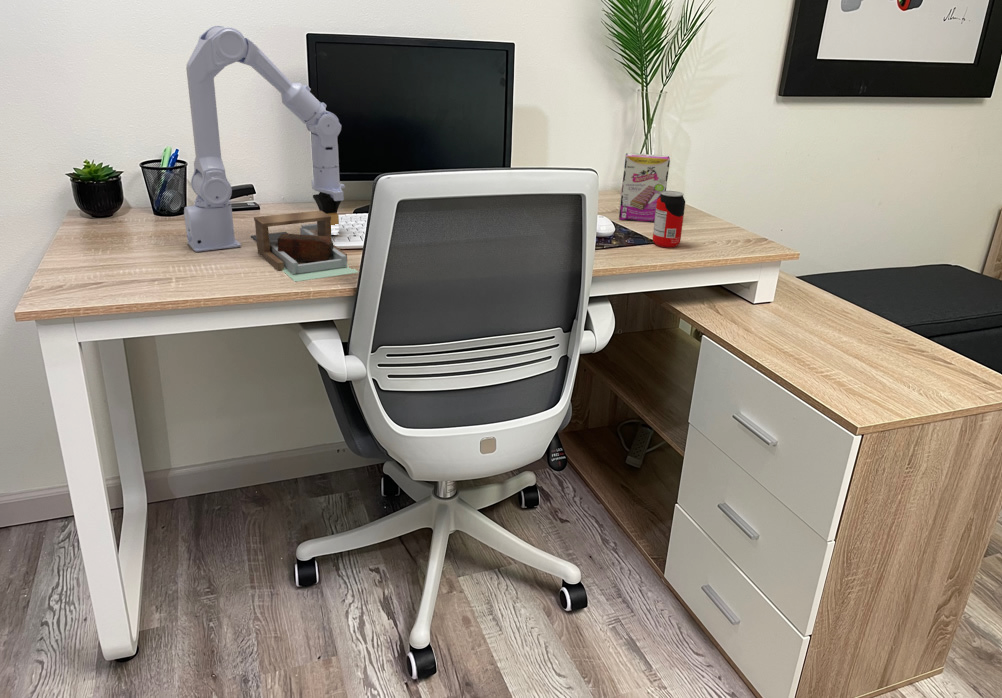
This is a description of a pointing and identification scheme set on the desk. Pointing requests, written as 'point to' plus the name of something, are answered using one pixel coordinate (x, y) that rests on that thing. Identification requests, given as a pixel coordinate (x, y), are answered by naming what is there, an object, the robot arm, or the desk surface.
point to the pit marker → (271, 236)
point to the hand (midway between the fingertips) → (329, 225)
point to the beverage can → (668, 219)
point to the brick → (306, 247)
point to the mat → (319, 273)
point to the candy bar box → (642, 185)
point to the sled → (295, 268)
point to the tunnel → (285, 219)
